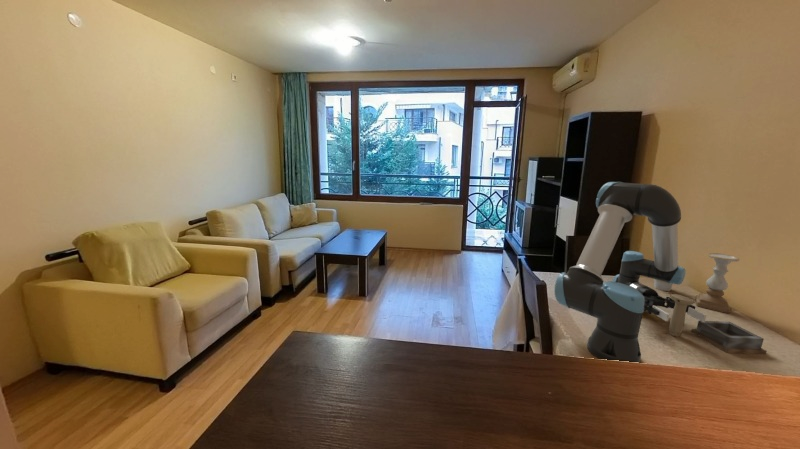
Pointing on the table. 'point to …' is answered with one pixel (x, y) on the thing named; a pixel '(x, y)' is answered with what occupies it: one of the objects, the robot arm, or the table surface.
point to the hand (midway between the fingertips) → (686, 318)
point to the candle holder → (716, 285)
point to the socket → (729, 337)
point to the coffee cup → (662, 285)
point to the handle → (678, 314)
